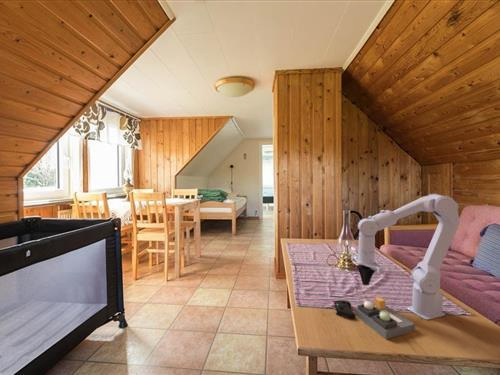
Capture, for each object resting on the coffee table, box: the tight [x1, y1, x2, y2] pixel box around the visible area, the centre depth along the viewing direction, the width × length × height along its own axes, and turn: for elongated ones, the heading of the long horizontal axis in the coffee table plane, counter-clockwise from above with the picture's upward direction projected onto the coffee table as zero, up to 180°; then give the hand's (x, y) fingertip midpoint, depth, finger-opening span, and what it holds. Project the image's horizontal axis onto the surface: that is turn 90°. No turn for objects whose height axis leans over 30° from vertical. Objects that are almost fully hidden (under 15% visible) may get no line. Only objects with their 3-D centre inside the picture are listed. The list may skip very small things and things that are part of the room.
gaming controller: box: [333, 299, 357, 320], centre depth 93 cm, size 10×5×6 cm
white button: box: [363, 300, 374, 311], centre depth 88 cm, size 3×3×2 cm
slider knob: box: [374, 296, 386, 309], centre depth 90 cm, size 2×2×3 cm
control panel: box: [354, 303, 416, 340], centre depth 86 cm, size 12×14×4 cm
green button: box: [380, 312, 390, 322], centre depth 81 cm, size 3×3×2 cm
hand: (365, 284), depth 96 cm, fingers closed
